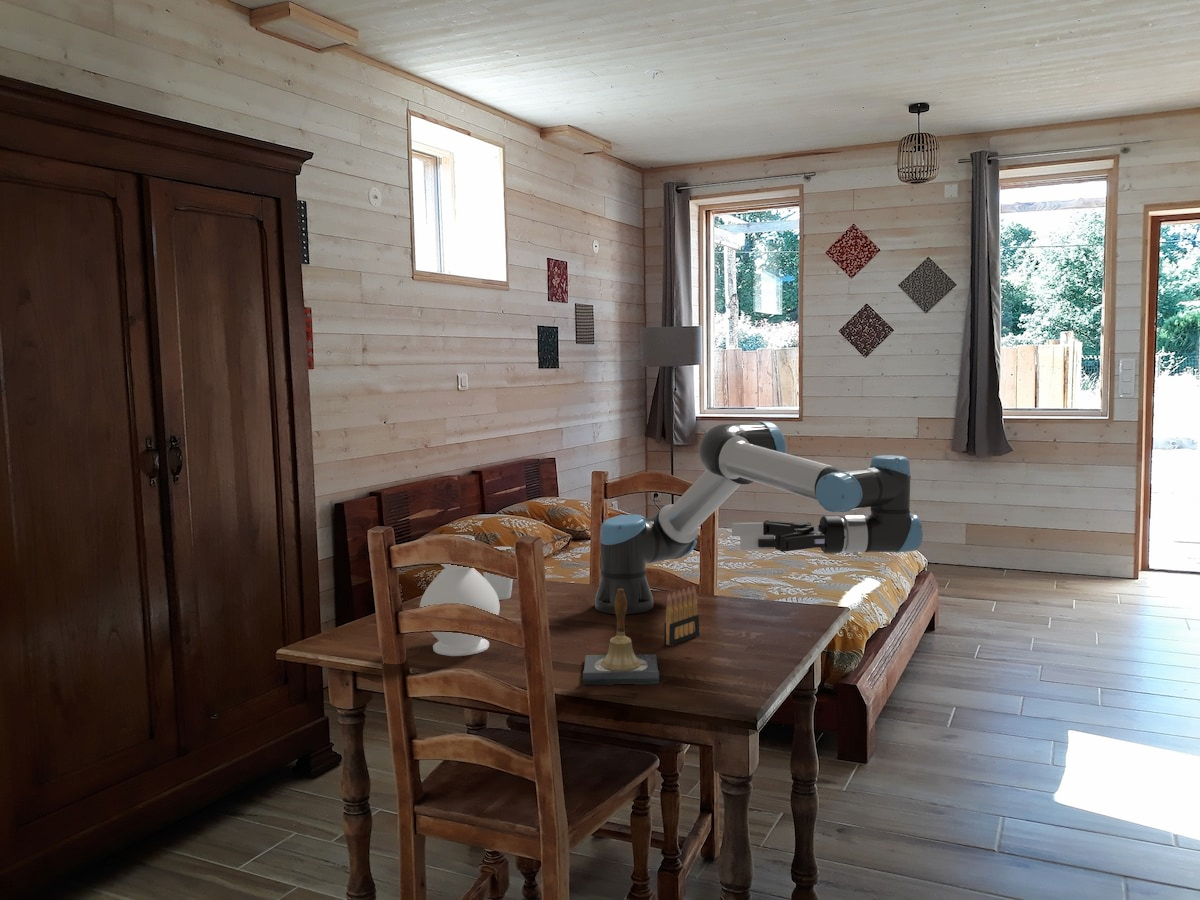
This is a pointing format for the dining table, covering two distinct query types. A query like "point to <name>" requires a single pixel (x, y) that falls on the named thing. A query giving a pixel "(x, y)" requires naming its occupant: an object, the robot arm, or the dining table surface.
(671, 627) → the ammunition clip
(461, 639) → the decorative vase
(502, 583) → the foam cup
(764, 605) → the dining table surface
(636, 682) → the plate
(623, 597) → the hand bell
